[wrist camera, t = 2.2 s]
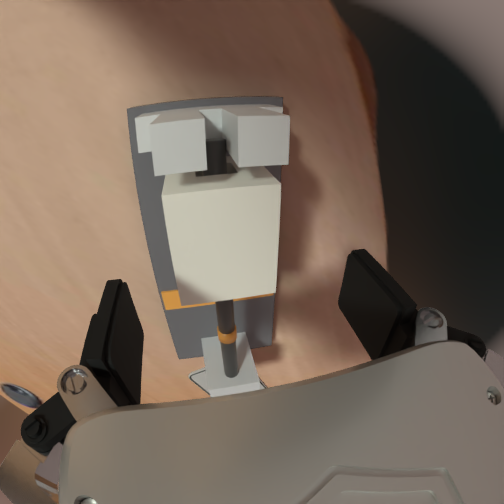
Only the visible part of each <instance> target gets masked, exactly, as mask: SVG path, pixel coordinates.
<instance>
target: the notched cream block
mask: <svg viewBox="0 0 504 504" xmlns="http://www.w3.org/2000/svg"><path fill="white" fill-rule="evenodd" d="M226 160H227V174H219V175H209V176H203V171H194V172H185V173H177V174H169V175H165V180H164V185H163V190H162V195H161V196H162V203H163V210H164V217H165V223H166V229H167V235H168V241H169V247H170V252H171V258H172V263H173V268H174V273H175V278H176V283H177V288H178V293H179V297H180V302H181V306H186V305H194V304H202V303H209V302H217V301H224V300H231V299H238V298H245V297H251V296H258V295H264V294H271V293H276V279H277V263H278V245H279V225H280V204H281V183H280V182H279V181H278V180H277V179H276V178H275V177H274V176H273V175H272V174H271V173H270V172H269V171H268V170H267V169H266V168H265V167H264V166H252V167H238V166H237V164H236V163H235V161H234V160H233V158H232V157H231V156H226Z"/></svg>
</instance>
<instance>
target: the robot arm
mask: <svg viewBox="0 0 504 504" xmlns="http://www.w3.org/2000/svg"><path fill="white" fill-rule="evenodd" d="M338 305H339V308H340V310H341V311H342V313H343V314H344V316H345V317H346V319H347V321H348V322H349V324H350V325H351V327H352V328H353V330H354V332H355V333H356V335H357V336H358V338H359V340H360V341H361V343H362V344H363V346H364V348H365V349H366V351H367V353H368V354H369V356H370V357H371V359H372V361H369V362H366V363H363V364H360V365H357V366H354V367H350V368H347V369H343V370H340V371H336V372H333V373H329V374H326V375H322V376H318V377H314V378H310V379H306V380H302V381H298V382H294V383H289V384H285V385H280V386H275V387H270V388H265V389H260V390H255V391H249V392H243V393H237V394H231V395H224V396H217V397H210V398H201V399H193V400H183V401H174V402H163V403H149V404H140V397H141V371H142V355H143V341H144V333H143V329H142V326H141V323H140V321H139V318H138V315H137V312H136V309H135V306H134V304H133V301H132V298H131V295H130V291H129V288H128V285H127V283H126V282H122V280H121V279H117V280H108V281H107V282H106V286H105V289H104V292H103V295H102V298H101V302H100V305H99V309H98V312H97V314H94V315H93V316H92V318H91V321H90V325H89V329H88V332H87V336H86V340H85V344H84V348H83V352H82V356H81V360H80V365H73V366H70V367H68V368H66V369H65V370H64V371H63V372H62V373H61V374H60V376H59V377H58V381H57V388H58V391H59V392H57V393H56V394H55V395H54V396H52V397H51V398H50V399H49V400H47V401H46V402H45V403H44V404H42V405H41V406H40V407H39V408H37V409H36V410H35V411H34V412H32V413H31V414H30V415H29V416H27V418H26V419H25V420H24V421H23V423H22V427H21V436H22V439H21V440H20V441H18V440H16V442H15V444H14V445H13V447H12V448H11V450H10V451H9V453H8V455H7V456H6V458H5V460H4V461H3V463H2V464H1V466H0V489H1V491H2V492H3V493H4V494H5V495H6V496H7V498H8V499H9V500H10V501H11V502H12V503H13V504H504V358H503V357H501V356H499V355H498V354H496V353H495V352H493V351H492V350H490V349H488V351H486V347H485V344H484V342H483V341H482V340H481V339H480V338H479V337H477V336H475V335H473V334H470V333H467V332H464V331H461V330H458V329H455V328H452V327H448V326H447V322H446V319H445V317H444V315H443V314H442V313H441V312H439V311H438V310H436V309H433V308H429V307H426V308H422V309H420V310H419V311H417V310H416V306H417V304H416V303H415V302H414V301H413V300H412V299H411V298H410V296H409V295H408V294H407V293H406V292H405V291H404V290H403V289H402V287H401V286H400V285H399V284H398V283H397V282H396V281H395V280H394V279H393V278H392V277H391V276H390V274H389V273H388V272H387V271H386V270H385V269H384V268H383V267H382V266H381V265H380V264H379V263H378V262H377V261H376V260H375V259H374V258H373V257H372V256H371V255H370V254H369V253H368V251H367V250H365V249H359V250H353V251H352V252H351V254H349V255H348V257H347V263H346V268H345V272H344V277H343V282H342V287H341V291H340V295H339V300H338ZM58 481H59V489H58V488H57V484H58ZM58 490H59V491H58Z"/></svg>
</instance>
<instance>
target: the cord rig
mask: <svg viewBox="0 0 504 504" xmlns="http://www.w3.org/2000/svg"><path fill="white" fill-rule="evenodd" d="M127 115H128V125H129V135H130V144H131V152H132V160H133V167H134V174H135V180H136V187H137V193H138V199H139V204H140V210H141V215H142V220H143V225H144V230H145V235H146V240H147V245H148V249H149V254H150V258H151V262H152V266H153V271H154V275H155V279H156V283H157V287H158V290H159V294H160V298H161V302H162V305H163V309H164V312H165V316H166V319H167V323H168V326H169V329H170V333H171V336H172V339H173V342H174V346H175V349H176V352H177V355H178V358H179V359H186V358H194V357H202V356H204V362H205V369H206V375H207V382H208V388H209V392H210V396H211V397H217V396H224V395H231V394H237V393H243V392H249V391H255V390H260V380H259V377H258V374H257V370H256V367H255V364H254V360H253V357H252V353H251V350H250V349H254V348H259V347H265V346H270V345H271V343H272V330H273V316H274V301H275V293H271V294H264V295H258V296H251V297H245V298H238V299H231V300H224V301H217V302H209V303H202V304H194V305H186V306H181V302H180V297H179V293H178V288H177V283H176V278H175V273H174V268H173V263H172V258H171V252H170V247H169V241H168V235H167V229H166V223H165V217H164V210H163V203H162V196H161V195H162V190H163V185H164V180H165V175H169V174H177V173H185V172H194V171H203V176H209V175H219V174H227V160H226V156H231V157H232V158H233V160H234V161H235V163H236V164H237V166H238V167H252V166H264V167H265V168H266V169H267V170H268V171H269V172H270V173H271V174H272V175H273V176H274V177H275V178H276V179H277V180H278V181H279V182H280V183H281V165H288V164H289V137H290V116H289V115H286V114H283V97H269V96H247V97H218V98H203V99H191V100H181V101H172V102H164V103H156V104H149V105H143V106H137V107H131V108H128V109H127Z"/></svg>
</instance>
